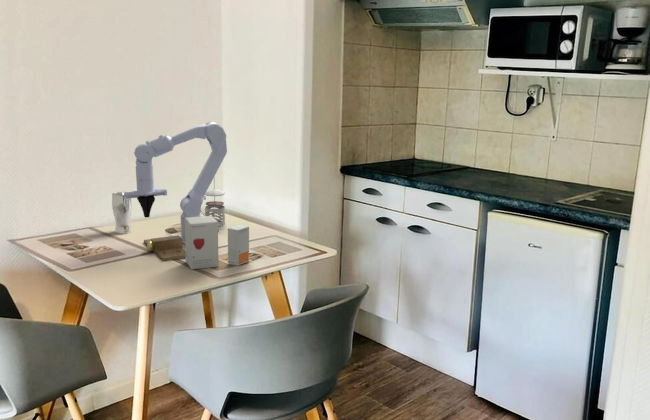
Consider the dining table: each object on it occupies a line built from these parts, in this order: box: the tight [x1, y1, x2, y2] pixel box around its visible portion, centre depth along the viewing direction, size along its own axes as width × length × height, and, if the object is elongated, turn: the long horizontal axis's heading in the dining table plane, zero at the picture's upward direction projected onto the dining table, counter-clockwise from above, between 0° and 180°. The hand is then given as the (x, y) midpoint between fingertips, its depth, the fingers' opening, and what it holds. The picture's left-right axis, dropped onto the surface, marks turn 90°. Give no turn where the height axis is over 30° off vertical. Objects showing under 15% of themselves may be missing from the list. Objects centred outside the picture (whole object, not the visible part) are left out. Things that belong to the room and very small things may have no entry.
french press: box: [200, 181, 228, 231], centre depth 234 cm, size 10×12×25 cm
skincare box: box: [227, 224, 250, 267], centre depth 192 cm, size 6×4×12 cm
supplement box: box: [184, 215, 220, 270], centre depth 189 cm, size 9×9×15 cm
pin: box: [146, 241, 154, 253], centre depth 205 cm, size 10×4×4 cm, turn 121°
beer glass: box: [111, 191, 133, 235], centre depth 225 cm, size 7×7×15 cm
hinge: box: [143, 234, 186, 262], centre depth 205 cm, size 10×24×4 cm, turn 31°
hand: (146, 216), depth 210 cm, fingers closed
